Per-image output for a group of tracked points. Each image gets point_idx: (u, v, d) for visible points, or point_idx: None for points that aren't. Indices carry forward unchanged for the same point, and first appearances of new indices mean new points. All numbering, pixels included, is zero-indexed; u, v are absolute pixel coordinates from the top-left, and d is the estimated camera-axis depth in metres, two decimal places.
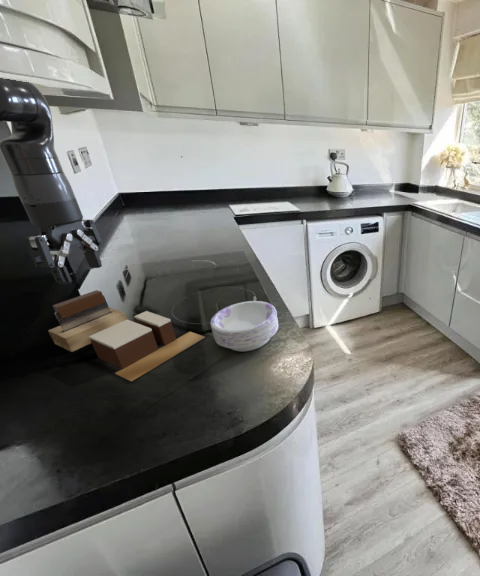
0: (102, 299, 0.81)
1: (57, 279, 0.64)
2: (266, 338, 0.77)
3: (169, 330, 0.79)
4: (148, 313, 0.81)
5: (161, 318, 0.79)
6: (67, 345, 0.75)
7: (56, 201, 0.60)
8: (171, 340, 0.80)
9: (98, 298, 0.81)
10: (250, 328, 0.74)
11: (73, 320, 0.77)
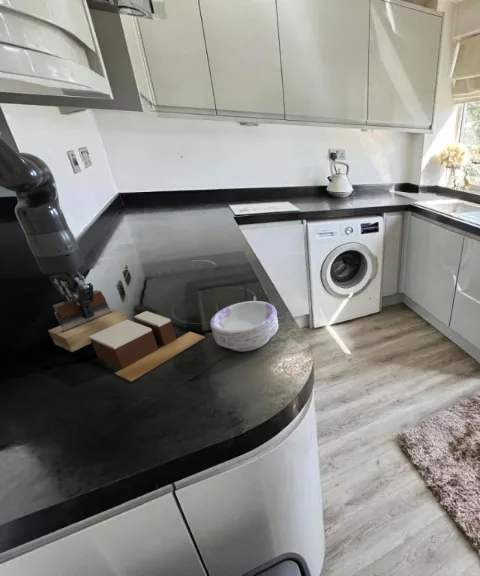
0: (102, 299, 0.81)
1: (87, 313, 0.78)
2: (266, 338, 0.77)
3: (169, 330, 0.79)
4: (148, 313, 0.81)
5: (161, 318, 0.79)
6: (67, 345, 0.75)
7: (77, 248, 0.74)
8: (171, 340, 0.80)
9: (98, 298, 0.81)
10: (250, 328, 0.74)
11: (73, 320, 0.77)
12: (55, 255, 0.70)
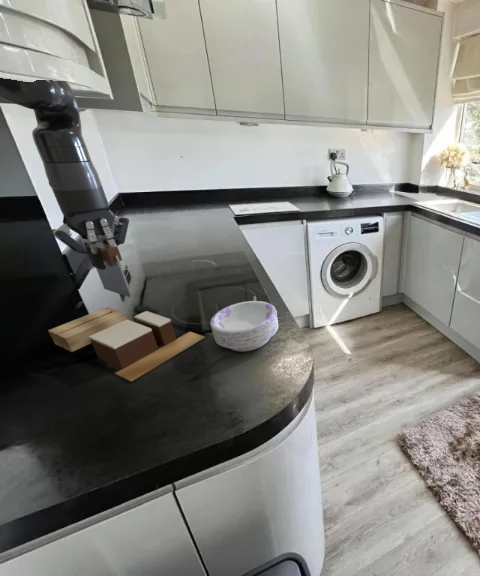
0: None
1: None
2: (266, 338, 0.77)
3: (169, 330, 0.79)
4: (148, 313, 0.81)
5: (161, 318, 0.79)
6: (67, 345, 0.75)
7: None
8: (171, 340, 0.80)
9: None
10: (250, 328, 0.74)
11: None
12: (101, 185, 0.66)
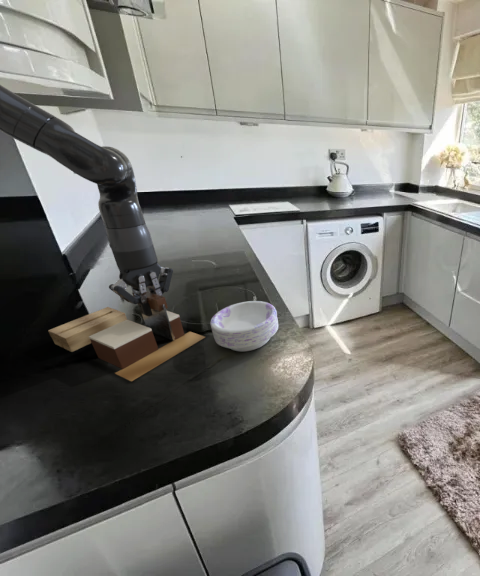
0: None
1: None
2: (266, 338, 0.77)
3: (178, 325, 0.81)
4: None
5: (170, 314, 0.80)
6: (67, 345, 0.75)
7: None
8: (179, 335, 0.82)
9: None
10: (250, 328, 0.74)
11: None
12: (152, 243, 0.74)
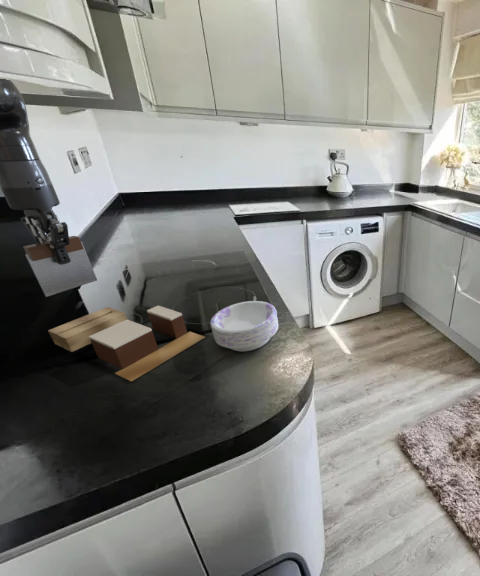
0: (79, 245, 0.75)
1: (62, 258, 0.72)
2: (266, 338, 0.77)
3: (180, 324, 0.81)
4: (160, 307, 0.83)
5: (173, 312, 0.81)
6: (67, 345, 0.75)
7: (50, 184, 0.68)
8: (182, 333, 0.82)
9: (75, 244, 0.74)
10: (250, 328, 0.74)
11: (47, 265, 0.71)
12: (24, 187, 0.63)
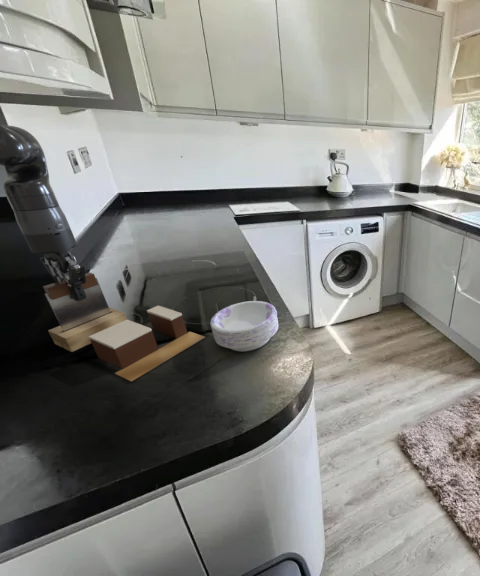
0: (94, 281, 0.79)
1: (79, 296, 0.76)
2: (266, 338, 0.77)
3: (180, 324, 0.81)
4: (160, 307, 0.83)
5: (173, 312, 0.81)
6: (67, 345, 0.75)
7: (68, 227, 0.72)
8: (182, 333, 0.82)
9: (90, 280, 0.78)
10: (250, 328, 0.74)
11: (64, 302, 0.75)
12: (45, 233, 0.67)
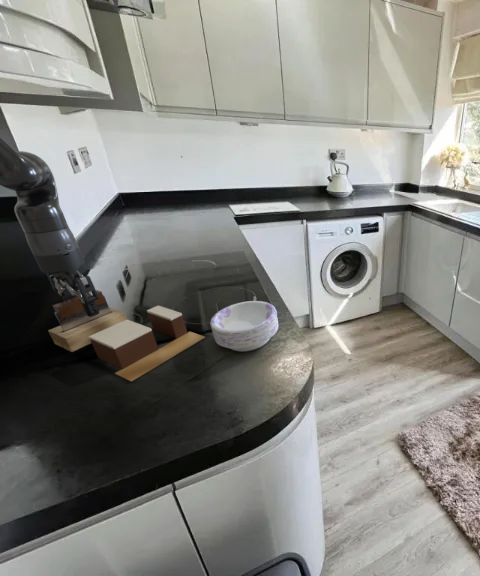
0: (102, 299, 0.81)
1: (92, 311, 0.76)
2: (266, 338, 0.77)
3: (180, 324, 0.81)
4: (160, 307, 0.83)
5: (173, 312, 0.81)
6: (67, 345, 0.75)
7: (76, 247, 0.74)
8: (182, 333, 0.82)
9: None
10: (250, 328, 0.74)
11: (73, 320, 0.77)
12: (55, 254, 0.70)
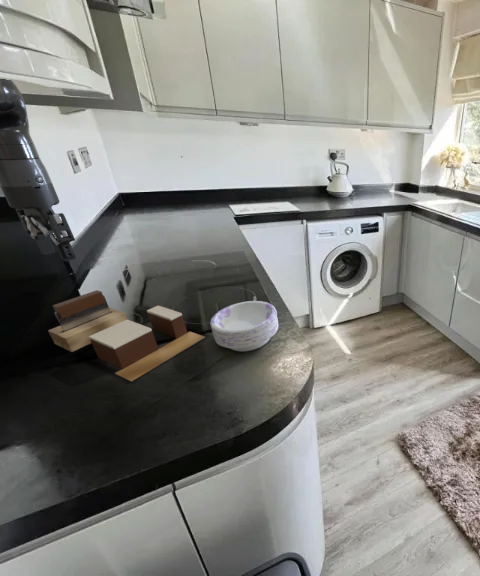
0: (102, 299, 0.81)
1: (68, 255, 0.70)
2: (266, 338, 0.77)
3: (180, 324, 0.81)
4: (160, 307, 0.83)
5: (173, 312, 0.81)
6: (67, 345, 0.75)
7: (49, 182, 0.68)
8: (182, 333, 0.82)
9: (98, 298, 0.81)
10: (250, 328, 0.74)
11: (73, 320, 0.77)
12: (24, 186, 0.63)
